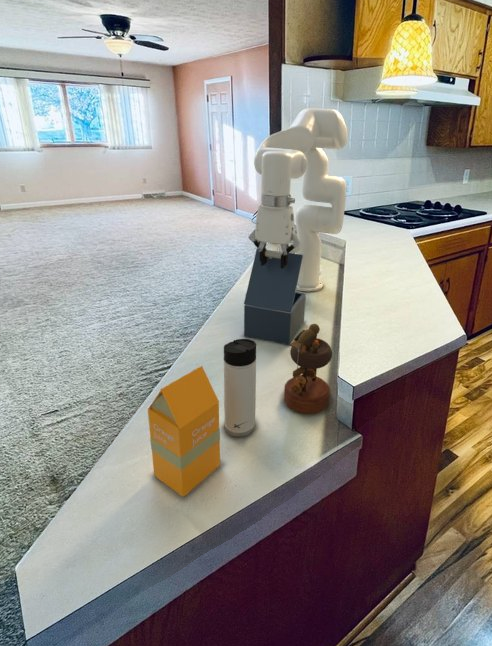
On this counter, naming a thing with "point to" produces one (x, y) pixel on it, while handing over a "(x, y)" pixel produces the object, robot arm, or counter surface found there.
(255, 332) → the box
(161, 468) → the orange juice
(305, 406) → the music box
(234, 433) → the travel mug
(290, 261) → the lid
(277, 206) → the robot arm
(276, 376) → the counter surface
